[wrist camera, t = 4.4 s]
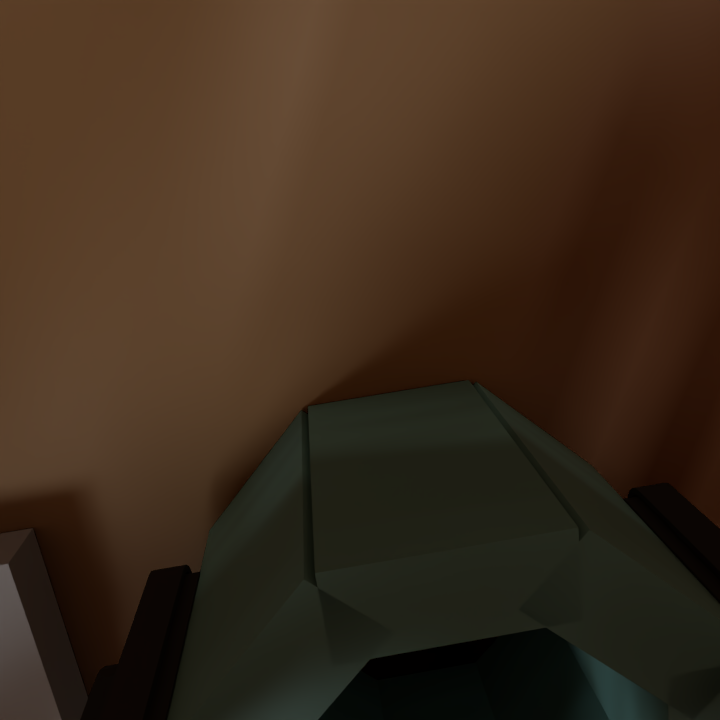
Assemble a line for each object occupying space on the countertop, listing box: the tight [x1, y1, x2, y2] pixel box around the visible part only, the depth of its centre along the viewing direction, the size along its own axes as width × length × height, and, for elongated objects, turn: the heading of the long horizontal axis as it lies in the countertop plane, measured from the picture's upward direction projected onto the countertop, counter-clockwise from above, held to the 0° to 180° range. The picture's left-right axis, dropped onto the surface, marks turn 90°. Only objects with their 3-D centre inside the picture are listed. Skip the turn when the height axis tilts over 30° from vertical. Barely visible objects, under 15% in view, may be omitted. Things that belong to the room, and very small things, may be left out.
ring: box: [167, 380, 720, 720], centre depth 10 cm, size 7×7×4 cm
